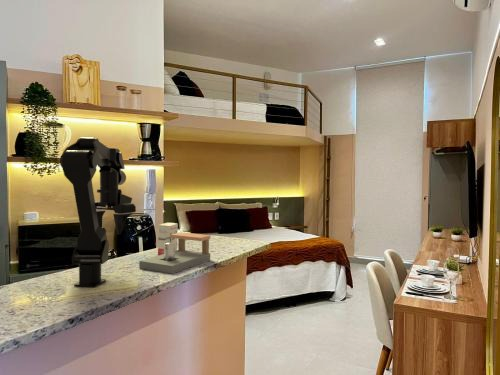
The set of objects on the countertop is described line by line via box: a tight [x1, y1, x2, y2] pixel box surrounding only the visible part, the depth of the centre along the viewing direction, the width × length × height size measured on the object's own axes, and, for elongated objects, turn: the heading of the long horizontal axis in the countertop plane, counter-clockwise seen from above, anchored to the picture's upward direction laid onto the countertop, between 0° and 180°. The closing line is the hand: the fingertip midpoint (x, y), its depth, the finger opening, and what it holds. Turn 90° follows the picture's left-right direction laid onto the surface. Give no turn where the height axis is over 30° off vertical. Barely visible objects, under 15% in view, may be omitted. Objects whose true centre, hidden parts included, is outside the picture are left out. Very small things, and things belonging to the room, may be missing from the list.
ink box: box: [157, 222, 179, 256], centre depth 150 cm, size 9×5×12 cm, turn 168°
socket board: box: [138, 232, 211, 274], centre depth 133 cm, size 22×14×9 cm, turn 152°
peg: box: [164, 242, 175, 261], centre depth 129 cm, size 4×4×8 cm
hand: (109, 233), depth 125 cm, fingers open, 9 cm apart
